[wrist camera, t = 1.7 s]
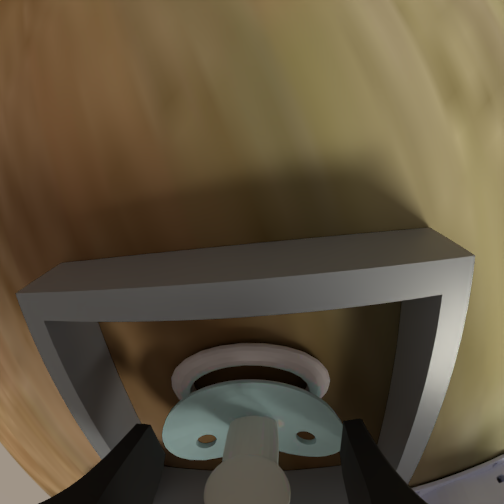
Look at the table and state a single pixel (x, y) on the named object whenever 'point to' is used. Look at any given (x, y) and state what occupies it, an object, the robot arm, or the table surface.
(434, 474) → the table surface
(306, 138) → the table surface
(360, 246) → the gray square frame
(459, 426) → the table surface
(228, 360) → the pacifier
